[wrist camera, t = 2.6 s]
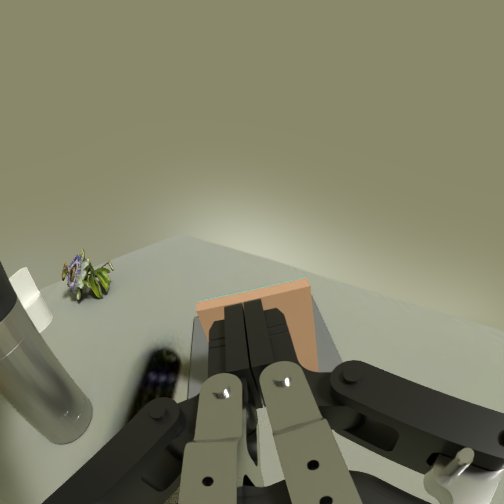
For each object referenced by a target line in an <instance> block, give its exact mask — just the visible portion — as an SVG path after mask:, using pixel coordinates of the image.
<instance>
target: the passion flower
mask: <svg viewBox="0 0 504 504" xmlns="http://www.w3.org/2000/svg"><path fill="white" fill-rule="evenodd" d="M106 264H109V266H110V267H111V269H112V271H113V270H114V268H113V266H112V264H111V263H110V261H109V262H107V263H106ZM106 264H105V265H106ZM105 265H103V266H105ZM103 266H102V267H101V268H98V269H97V270H94V269H93V267H92V266H91V263H90V260H89V259H85V253H84V250H83V249H82V250H81V251H80V255H79V256H78V255H77V256H76V257H75V259H74V262H73V261H72V263H71V265H70V266H69V267H70V271H68V268H67V263H65V265H64V268H63V273H62V281H64V279H65V276H66V275H67V273H68V275H67V276H68V284H67V285H68V287H70V291H71V292H72V293H73V294H76V296H77V298H76V300H80V298H81V296H82V289H83V288H84V286H85V284H86V286H87V287H88V288H92V290H93V292H94V293H95V295H96V296H97V297H98V298H103V295H102V292H101V287H100V285H99V284H98V282H97V280H96V279H95V277H98V279H99V280H100V281H101V284H102V285H103V287H104V288H105V290H106V291H107V292H108V288H109V285H110V279H109V277H108V275H107V274H105V273H110V270H108V269H106V268H103ZM89 271H91V274H88V272H89ZM88 275H90V277H89V279H88ZM90 285H91V286H90Z"/></svg>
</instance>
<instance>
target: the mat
mask: <svg viewBox="0 0 504 504" xmlns="http://www.w3.org/2000/svg"><path fill="white" fill-rule="evenodd" d="M311 297H312V295H311ZM312 306H313V316H314V325H315V336H316V346H317V358H318V370H319V372H332V371H333V370H334V368H335V367H336V366H338V365H339V364H341V363H343V362H342V360H341V358H340V355H339V353H338V351H337V349H336V347H335V344H334V342H333V340H332V338H331V336H330V333H329V331H328V329H327V327H326V325H325V322H324V320H323V318H322V316H321V314H320V312H319V309H318V307H317V305H316V303H315V301H314V299H313V297H312ZM208 350H209V348H208V340H207V337H206V335H205V332H204V330H203V327H202V325H201V322H200V320H199V317H198V316H196V317H195V320H194V330H193V341H192V353H191V365H190V379H189V393H188V399H190V398H192V397H194V396H196V395H197V394H199V393H200V389H201V386H202V385H203V383H204V382H205V381H206V380H207V379H208ZM261 398H262V397H261ZM262 405H264V403H263V400H262Z"/></svg>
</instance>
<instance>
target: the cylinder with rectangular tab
mask: <svg viewBox="0 0 504 504" xmlns="http://www.w3.org/2000/svg"><path fill="white" fill-rule="evenodd" d="M9 281H10V283H11V285H12V287H13V289H14V291H15V292H16V294H17V296H18V298H19V300H20V302H21V303H22V305H23V307H24V309H25V310H26V312H27V314H28V316H29V317H30V319H31V320H32V322H33V324H34V325H35V327H36V328H37V330H38V332H39V333H40V332H41V331H43V330H44V329H45V328H46V327H47V326H48V325H49V324H50V322H51V320H52V317H53V315H52V313H51V311H50V310H49V308H48V306H47V304H46V303H45V301H44V299H43V297H42V295H41V293H40V292H39V291H38V289H37V287H36V285H35V283H34V281H33V279H32V277H31V275H30V273H29V271H28V269H27V268H21V269H20V270H18V271H17V272H16V273H15V274H14V275H13V276H12V277H10V278H9Z"/></svg>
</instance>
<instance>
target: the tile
mask: <svg viewBox="0 0 504 504" xmlns="http://www.w3.org/2000/svg"><path fill="white" fill-rule="evenodd" d="M260 298H261V301H262V305H263V310H268V309H272V308H278V309H279V310H280V311H281V312H282V313H283V314H284V316H285V319H286V322H287V325H288V329H289V332H290V335H291V339H292V342H293V345H294V349H295V352H296V355H297V359H298V361H299V363H300V364H301V365H302V366H303V367H304V368H306V369H308V370H310V371H314V372H319V370H318V358H317V346H316V336H315V325H314V316H313V306H312V297H311V289H310V284H309V282H308V280H307V278H306V277H301V278H297V279H293V280H289V281H285V282H280V283H276V284H272V285H267V286H263V287H259V288H254V289H250V290H245V291H241V292H236V293H232V294H227V295H222V296H218V297H213V298H208V299H203V300H199V301H197V309H196V312H197V314H198V317H199V320H200V322H201V325H202V327H203V330H204V332H205V335H206V337H207V340H208V342H209V329H210V328H211V326H212V324H213V322H214V321H218V320H223V319H224V306H229V305H234V304H238V303H242V304H243V302H247V301H251V300H256V299H260ZM243 307H244V305H243Z"/></svg>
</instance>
